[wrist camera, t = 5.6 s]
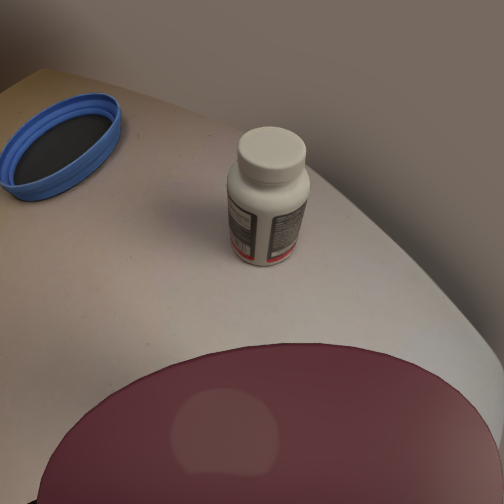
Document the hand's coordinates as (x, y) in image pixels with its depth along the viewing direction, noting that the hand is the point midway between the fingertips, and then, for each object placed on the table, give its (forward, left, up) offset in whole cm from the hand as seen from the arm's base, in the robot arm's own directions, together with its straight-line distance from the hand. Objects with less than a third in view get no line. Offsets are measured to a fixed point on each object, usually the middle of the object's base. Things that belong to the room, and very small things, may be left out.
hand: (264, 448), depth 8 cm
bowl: (+37, +1, -11) cm, 39 cm away
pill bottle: (+11, -10, -11) cm, 19 cm away
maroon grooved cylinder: (-1, +1, -7) cm, 7 cm away
